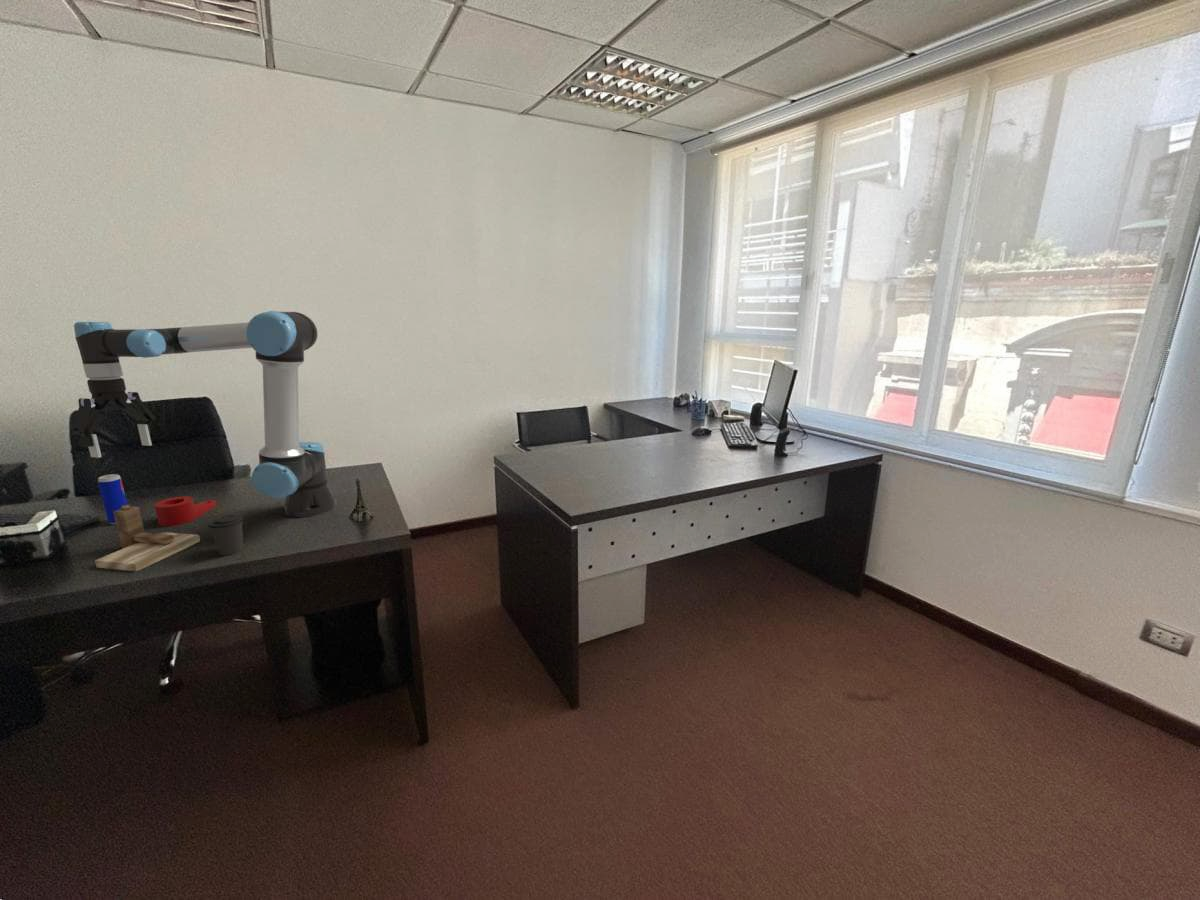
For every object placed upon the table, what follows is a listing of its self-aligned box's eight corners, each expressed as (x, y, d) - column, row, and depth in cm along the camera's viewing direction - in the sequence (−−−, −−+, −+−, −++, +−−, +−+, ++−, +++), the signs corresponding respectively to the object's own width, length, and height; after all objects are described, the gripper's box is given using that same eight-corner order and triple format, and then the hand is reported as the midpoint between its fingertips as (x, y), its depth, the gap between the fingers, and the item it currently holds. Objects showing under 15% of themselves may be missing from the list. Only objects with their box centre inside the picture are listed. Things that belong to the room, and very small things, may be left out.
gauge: (178, 546, 141) (169, 506, 138) (164, 552, 138) (155, 511, 134) (137, 542, 143) (127, 502, 140) (122, 549, 139) (112, 508, 136)
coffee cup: (209, 560, 135) (202, 525, 132) (217, 547, 142) (211, 514, 139) (245, 555, 138) (239, 521, 135) (251, 543, 145) (246, 510, 142)
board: (200, 541, 145) (198, 534, 145) (136, 571, 128) (134, 564, 128) (164, 538, 147) (162, 531, 147) (96, 567, 130) (94, 560, 129)
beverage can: (134, 520, 159) (123, 475, 155) (113, 526, 155) (102, 480, 151) (126, 517, 161) (115, 473, 158) (105, 523, 157) (93, 477, 153)
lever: (177, 528, 154) (172, 508, 153) (150, 526, 156) (145, 506, 154) (226, 507, 172) (223, 488, 170) (202, 505, 173) (199, 487, 171)
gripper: (140, 373, 153) (155, 440, 159) (39, 383, 130) (61, 461, 135) (161, 373, 152) (175, 441, 158) (62, 384, 128) (83, 463, 134)
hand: (122, 451), depth 146 cm, fingers open, 13 cm apart
